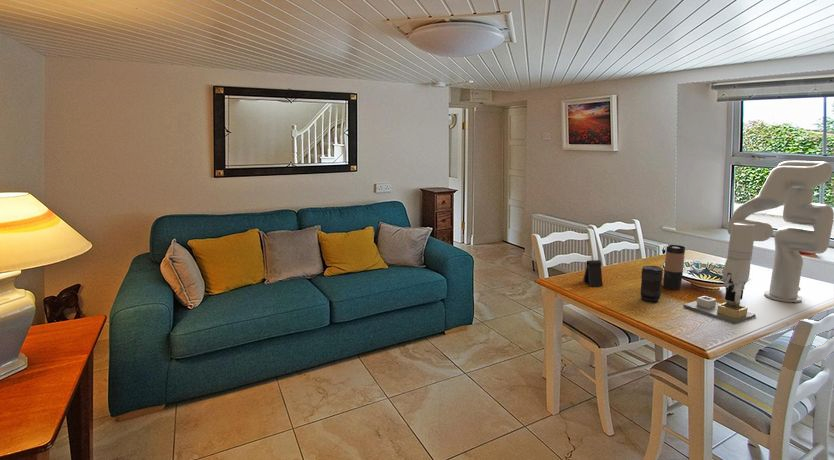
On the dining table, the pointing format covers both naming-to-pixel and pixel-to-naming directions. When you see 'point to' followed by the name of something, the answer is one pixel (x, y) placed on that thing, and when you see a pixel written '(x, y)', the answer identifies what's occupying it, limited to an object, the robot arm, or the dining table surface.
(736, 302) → the light grey rectangular block
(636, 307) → the dining table surface
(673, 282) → the travel mug
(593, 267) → the door stopper
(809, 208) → the robot arm
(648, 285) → the camera lens
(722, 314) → the fitting board
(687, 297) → the dining table surface
